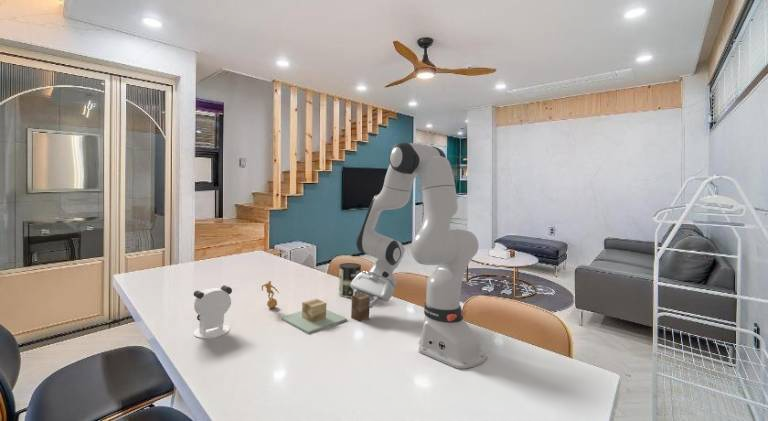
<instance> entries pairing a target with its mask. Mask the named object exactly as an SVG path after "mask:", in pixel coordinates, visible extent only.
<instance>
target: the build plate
mask: <svg viewBox="0 0 768 421" xmlns="http://www.w3.org/2000/svg"><path fill="white" fill-rule="evenodd" d="M280 319H281V320H282V322H283V321H284V322H286V323H287V324H289V325H290V326H293V327H294V328H296V329H298V330H300V331H302V332H304V333H306V334H307V335H308V334H312V333H314V332H317V331H321V330H324V329H327V328H329V327H332V326H336V325H339V324H341V323H343V322H347V321H348V318H346V316H345V317H344V316H342V315H339V314H338V313H336V312H333V311H331V310H329V309H326V318H325V319H322V320H318V321H315V322H310V321H308V320H306V319H304V318H302V310H301V311H297V312H293V313H291V314H287V315H283V316H280Z"/></svg>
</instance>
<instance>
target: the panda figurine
mask: <svg viewBox="0 0 768 421" xmlns="http://www.w3.org/2000/svg"><path fill="white" fill-rule="evenodd" d="M232 292H233V290H232V287H230V286H228V285H222V286H221V287H220V288H219V287H218V288H217V287H213V288H208V289H204V290H201V291H200V290H195V291H194V292H193V296H194V297H196V298H195V300H194V302H193V303H194V304H193V307H194V308H193V309H194V311H195V313H196V314H197V316H196V319H197V320H198V322H199V327H198V328H196V329H195V330H194V331H193V336H194V337H196V338H197V339H203V340H205V339H214V338H219V337H222V336H225V335H226V334H228V333H229V332H230V331H231V328H230V325H227V324H224V321H225V320H224V319H225V314H226V313H227V312H228V311H229V309H230V307H231V305H232V299H231V296H230V295H231V294H232Z"/></svg>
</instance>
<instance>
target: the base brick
mask: <svg viewBox="0 0 768 421" xmlns="http://www.w3.org/2000/svg"><path fill="white" fill-rule="evenodd" d="M301 307H302V309H301V311H302V318H304V319H306V320H308V321H310V322H315V321H318V320H322V319H325V318H326V310H327V302H325V301H323V300H320V299H318V298H313V299H311V300H306V301H303V302H302V304H301Z"/></svg>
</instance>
